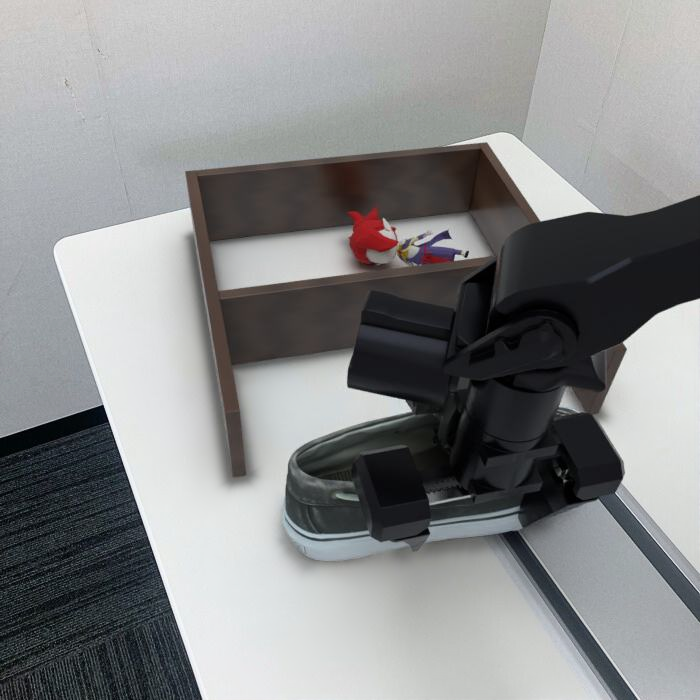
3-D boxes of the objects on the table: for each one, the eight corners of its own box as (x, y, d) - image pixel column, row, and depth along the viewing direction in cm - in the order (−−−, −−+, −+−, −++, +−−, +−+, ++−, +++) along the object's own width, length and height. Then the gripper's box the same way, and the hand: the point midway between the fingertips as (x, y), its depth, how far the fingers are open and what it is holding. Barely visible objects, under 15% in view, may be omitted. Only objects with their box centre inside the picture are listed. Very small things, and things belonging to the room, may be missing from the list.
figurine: (454, 303, 82) (325, 270, 85) (469, 271, 88) (349, 241, 92) (465, 250, 78) (330, 217, 81) (480, 221, 85) (355, 191, 88)
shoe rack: (474, 204, 96) (487, 141, 89) (599, 413, 73) (627, 349, 66) (193, 236, 89) (185, 170, 83) (232, 477, 66) (224, 412, 60)
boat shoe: (619, 495, 66) (655, 419, 59) (312, 611, 58) (310, 538, 50) (553, 412, 73) (577, 335, 66) (269, 505, 64) (262, 428, 57)
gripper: (582, 304, 56) (534, 434, 67) (337, 340, 52) (329, 472, 63) (662, 419, 48) (592, 544, 59) (383, 472, 44) (365, 595, 55)
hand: (468, 534), depth 59 cm, fingers open, 9 cm apart
